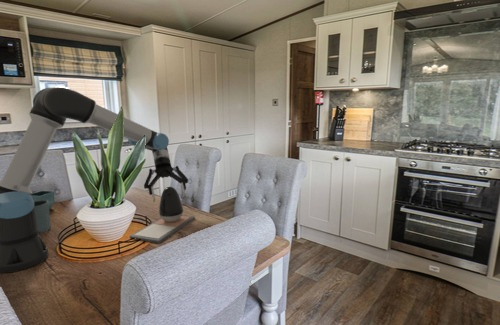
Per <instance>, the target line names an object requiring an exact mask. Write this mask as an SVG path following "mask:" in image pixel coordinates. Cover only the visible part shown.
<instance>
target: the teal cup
mask: <svg viewBox="0 0 500 325" xmlns="http://www.w3.org/2000/svg"><path fill="white" fill-rule="evenodd" d="M34 208H35V214H36V220H37V226H38V232H39V234H41V233H44V232H47V231H49V230H51V228H52V227H51V226H52V225H51V224H52V223H51V217H50V214H51V213H50V209H49V202H48V200H37V201H34Z"/></svg>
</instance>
